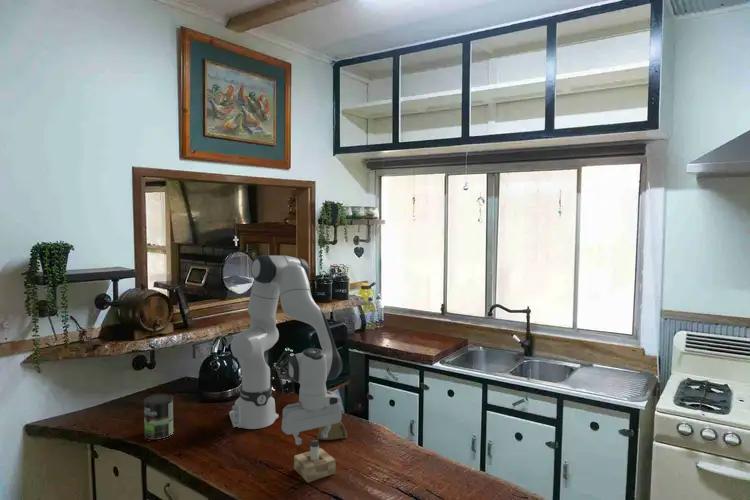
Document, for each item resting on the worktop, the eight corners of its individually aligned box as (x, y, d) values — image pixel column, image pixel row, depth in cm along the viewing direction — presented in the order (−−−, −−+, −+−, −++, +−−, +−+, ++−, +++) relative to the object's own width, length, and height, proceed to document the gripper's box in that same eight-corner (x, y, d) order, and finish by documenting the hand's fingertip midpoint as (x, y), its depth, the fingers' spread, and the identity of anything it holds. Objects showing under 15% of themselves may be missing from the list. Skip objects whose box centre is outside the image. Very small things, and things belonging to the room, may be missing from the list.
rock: (353, 428, 190) (332, 419, 195) (348, 416, 184) (327, 407, 189) (339, 453, 183) (317, 443, 188) (333, 441, 178) (311, 431, 183)
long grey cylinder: (308, 470, 163) (308, 441, 162) (316, 468, 164) (316, 439, 164) (312, 474, 160) (312, 444, 160) (320, 471, 162) (320, 442, 161)
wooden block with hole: (294, 468, 164) (294, 455, 163) (320, 460, 169) (321, 447, 169) (307, 482, 155) (307, 468, 155) (335, 473, 161) (335, 460, 161)
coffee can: (157, 443, 181) (157, 405, 180) (138, 437, 185) (137, 400, 184) (179, 432, 190) (179, 396, 189) (160, 427, 194) (159, 392, 193)
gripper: (286, 409, 152) (285, 452, 153) (344, 397, 163) (343, 437, 164) (278, 402, 157) (278, 443, 158) (335, 391, 169) (334, 430, 170)
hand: (311, 440), depth 162 cm, fingers open, 8 cm apart
